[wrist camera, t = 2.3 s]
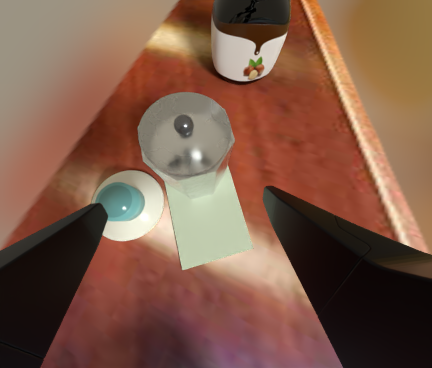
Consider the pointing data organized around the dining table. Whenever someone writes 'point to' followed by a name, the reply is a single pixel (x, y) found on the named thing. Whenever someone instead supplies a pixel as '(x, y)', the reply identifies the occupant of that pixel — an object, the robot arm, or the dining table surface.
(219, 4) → the spread jar
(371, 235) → the robot arm
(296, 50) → the dining table surface
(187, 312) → the dining table surface
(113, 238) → the teal puck on dish
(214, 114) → the grey metal canister
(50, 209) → the dining table surface
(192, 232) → the sage placemat
